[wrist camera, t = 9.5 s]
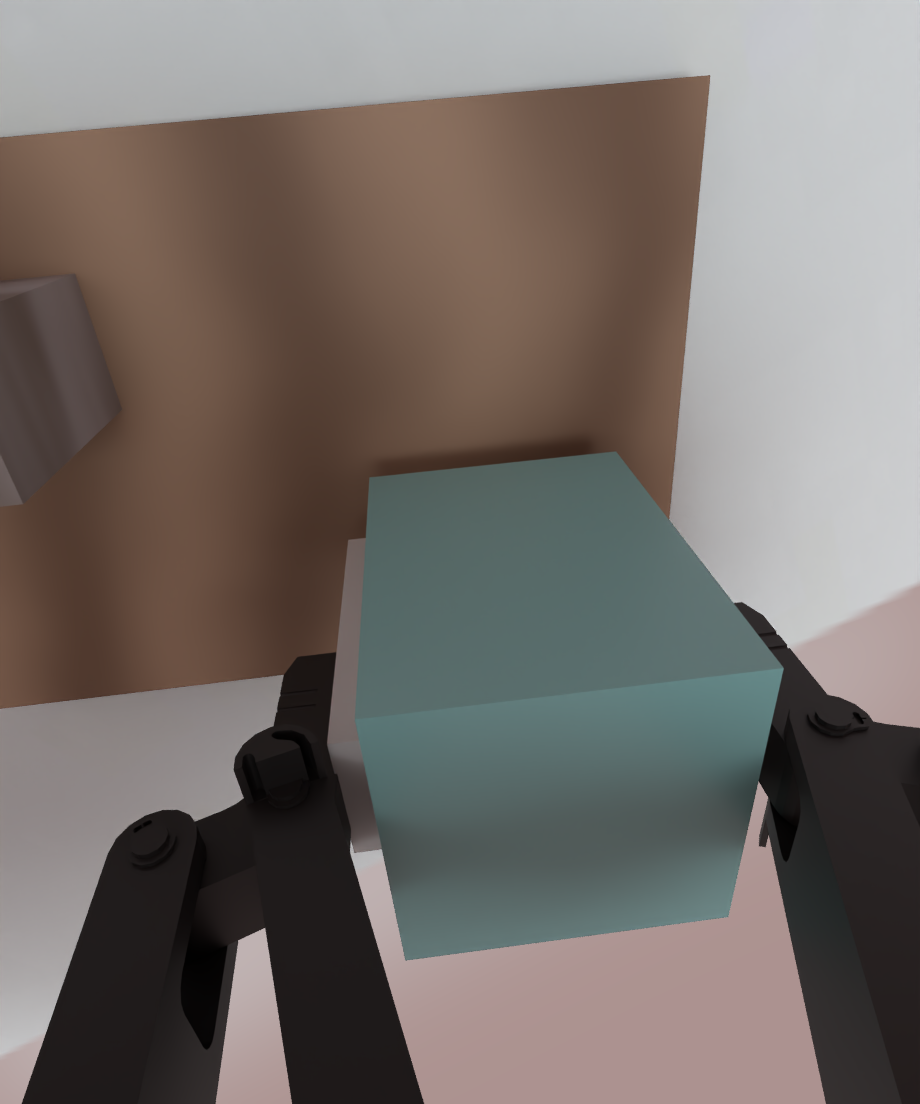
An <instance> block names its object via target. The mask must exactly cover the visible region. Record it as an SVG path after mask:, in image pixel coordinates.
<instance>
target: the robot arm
mask: <svg viewBox="0 0 920 1104" xmlns="http://www.w3.org/2000/svg"><path fill="white" fill-rule="evenodd" d="M365 542H366V538H360V539H351V540H348V547H347V557H346V566H345V576H344V585H343V595H342V605H341V614H340V624H339V634H338V643H337V652H333V653H325V654H316V655H308V656H299V657H297V658H296V659H295V661H294V662H293V663H292V665H291V666H290V667H289V669H288V670H287V671H286V673H285V674H284V677H283V682H282V687H281V692H280V695H281V697H279V702H278V707H277V713H276V717H275V722H274V727H270V728H268V729H266V730H264V731H262V732H260V733H257V734H255V735H254V736H253V737H252V738H251V739H249V740H248V741H247V742H246V743H245V744H244V745H243V746H242V747H241V749H240V751H239V752H238V754H237V755H236V757H235V764H234V772H235V775H236V778H237V780H238V783H239V786H240V789H241V791H242V794H243V797H244V799H242V800H241V801H240V802H238V803H237V804H235V805H233V806H231V807H229V808H227V809H225V810H223V811H221V812H218V813H216V814H213V815H211V816H208V817H206V818H203V819H201V820H198V821H196V822H194V820H193V819H192V817H191V816H190V815H188V814H186V813H184V812H182V811H179V810H162V811H158V812H155V813H152V814H149V815H146V816H144V817H142V818H141V819H139V820H138V821H136V822H134V823H133V824H131V825H129V826H128V827H127V828H126V829H125V830H124V831H123V832H122V833H121V834H120V835H119V836H118V837H117V838H116V840H115V842H114V844H113V846H112V847H111V849H110V851H109V853H108V855H107V858H106V861H105V864H104V867H103V870H102V873H101V876H100V878H99V881H98V884H97V887H96V890H95V893H94V896H93V899H92V902H91V904H90V907H89V910H88V913H87V916H86V919H85V922H84V925H83V928H82V931H81V933H80V936H79V939H78V942H77V945H76V948H75V951H74V954H73V957H72V960H71V962H70V965H69V968H68V971H67V974H66V977H65V980H64V983H63V986H62V988H61V991H60V994H59V997H58V1000H57V1003H56V1006H55V1009H54V1012H53V1015H52V1017H51V1020H50V1023H49V1026H48V1029H47V1032H46V1035H45V1038H44V1041H43V1044H42V1047H41V1049H40V1052H39V1055H38V1058H37V1061H36V1064H35V1067H34V1070H33V1073H32V1075H31V1078H30V1081H29V1084H28V1087H27V1090H26V1093H25V1096H24V1099H23V1102H22V1104H215V1103H216V1095H217V1089H218V1081H219V1074H220V1067H221V1060H222V1052H223V1045H224V1039H225V1031H226V1023H227V1017H228V1010H229V1003H230V995H231V988H232V981H233V974H234V967H235V960H236V953H237V946H238V940H240V939H242V938H244V937H246V936H248V935H250V934H253V933H255V932H257V931H259V930H261V929H263V928H265V929H266V935H267V942H268V949H269V954H270V962H271V968H272V975H273V981H274V988H275V993H276V1001H277V1007H278V1013H279V1020H280V1027H281V1033H282V1040H283V1046H284V1053H285V1060H286V1066H287V1073H288V1079H289V1086H290V1092H291V1099H292V1104H424V1102H423V1099H422V1095H421V1092H420V1088H419V1085H418V1082H417V1078H416V1075H415V1072H414V1068H413V1065H412V1061H411V1058H410V1055H409V1051H408V1048H407V1045H406V1041H405V1038H404V1035H403V1031H402V1028H401V1024H400V1021H399V1017H398V1014H397V1011H396V1007H395V1004H394V1000H393V997H392V994H391V990H390V987H389V983H388V980H387V977H386V973H385V970H384V967H383V963H382V960H381V956H380V953H379V950H378V947H377V943H376V939H375V936H374V933H373V929H372V926H371V922H370V919H369V916H368V912H367V909H366V906H365V902H364V899H363V895H362V892H361V889H360V886H359V882H358V878H357V875H356V872H355V868H354V865H353V861H352V858H351V855H350V841H352V845H353V849H354V853H356V852H364V851H372V850H379V849H382V847H381V842H380V837H379V833H378V828H377V823H376V818H375V814H374V809H373V804H372V800H371V795H370V790H369V785H368V781H367V776H366V771H365V766H364V762H363V757H362V752H361V747H360V743H359V738H358V733H357V728H356V724H355V706H356V689H357V673H358V656H359V640H360V624H361V607H362V591H363V575H364V558H365ZM734 604H735V606H736V607H737V608H738V610H739V611H740V612H741V613H742V615H743V616H744V617H745V619H746V620H747V621H748V623H749V624H750V625H751V626H752V628H753V629H754V630H755V632H756V633H757V634H758V635H759V637H760V638H761V639H762V641H763V642H764V643H765V645H766V646H767V647H768V648H769V650H770V651H771V652H772V654H773V655H774V656H775V657H776V659H777V660H778V661H779V663H780V664H781V665H782V666H783V668H784V669H783V674H782V678H781V683H780V687H779V692H778V696H777V701H776V705H775V709H774V714H773V718H772V723H771V727H770V732H769V736H768V741H767V745H766V750H765V754H764V759H763V763H762V768H761V772H760V777H759V782H760V784H761V786H762V788H763V789H764V791H765V793H766V794H767V796H768V801H767V806H766V810H765V814H764V819H763V823H762V827H761V831H760V835H759V837H760V838H759V846H762V847H766V843H767V839H768V835H769V838H770V842H771V847H772V852H773V856H774V861H775V866H776V871H777V875H778V880H779V885H780V889H781V894H782V899H783V904H784V908H785V913H786V918H787V922H788V927H789V932H790V936H791V941H792V945H793V950H794V955H795V960H796V964H797V969H798V974H799V979H800V983H801V988H802V993H803V997H804V1002H805V1006H806V1012H807V1016H808V1021H809V1026H810V1030H811V1035H812V1040H813V1044H814V1049H815V1054H816V1059H817V1063H818V1068H819V1073H820V1077H821V1082H822V1087H823V1091H824V1096H825V1101H826V1104H920V728H913V727H906V726H897V725H889V724H882V723H877V722H873V721H872V719H871V718H870V716H869V715H868V714H867V713H866V712H865V711H863V710H862V709H861V708H859V707H858V706H857V705H855V704H853V703H851V702H849V701H846V700H844V699H842V698H839V697H835V696H830V695H827V694H826V692H825V691H824V690H823V689H822V687H821V686H820V685H819V684H818V682H817V681H816V680H815V679H814V677H812V675H811V674H810V673H809V671H808V670H807V669H806V668H805V667H804V665H803V664H802V663H801V661H800V660H799V659H798V658H797V657H796V655H795V654H794V653H793V652H792V650H791V649H790V648H787V644H786V643H785V642H784V641H783V639H782V638H781V637H780V636H779V635H777V634H776V631H775V629H774V628H773V627H772V626H771V625H770V623H769V622H768V621H767V620H766V618H765V617H764V616H763V615H762V614H760V613H758V612H757V611H755V610H754V609H752V608H750V607H749V606H747V605H746V604H744V603H742V602H740V603H734Z"/></svg>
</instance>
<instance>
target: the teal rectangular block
mask: <svg viewBox="0 0 920 1104" xmlns="http://www.w3.org/2000/svg"><path fill="white" fill-rule="evenodd" d="M783 669H784V668H783V666H782V665H781V664H780V663H779V661H778V660H777V659H776V657H775V656H774V655H773V654H772V652H771V651H770V650H769V648H768V647H767V646H766V645H765V643H764V642H763V641H762V639H761V638H760V637H759V635H758V634H757V633H756V632H755V630H754V629H753V628H752V626H751V625H750V624H749V623H748V621H747V620H746V619H745V617H744V616H743V615H742V613H741V612H740V611H739V610H738V608H737V607H736V606H735V604H734V603H733V602H732V601H731V599H730V598H729V597H728V595H727V594H726V593H725V592H724V590H723V589H722V588H721V586H720V585H719V584H718V582H717V581H716V580H715V579H714V577H713V576H712V575H711V573H710V572H709V571H708V570H707V568H706V567H705V566H704V564H703V563H702V562H701V561H700V559H699V558H698V557H697V555H696V554H695V553H694V551H693V550H692V549H691V548H690V546H689V545H688V544H687V542H686V541H685V540H684V539H683V537H682V536H681V535H680V533H679V532H678V531H677V530H676V528H675V527H674V526H673V524H672V523H671V522H670V520H669V519H668V518H667V517H666V515H665V514H664V513H663V511H662V510H661V509H660V508H659V506H658V505H657V504H656V502H655V501H654V500H653V498H652V497H651V496H650V495H649V493H648V492H647V491H646V489H645V488H644V487H643V486H642V484H641V483H640V482H639V480H638V479H637V478H636V477H635V475H634V474H633V473H632V471H631V470H630V469H629V467H628V466H627V465H626V464H625V462H624V461H623V460H622V458H621V457H620V456H619V455H618V453H617V452H606V453H597V454H587V455H578V456H568V457H559V458H549V459H540V460H530V461H521V462H511V463H502V464H492V465H483V466H473V467H464V468H454V469H445V470H435V471H426V472H417V473H407V474H398V475H388V476H379V477H369V493H368V509H367V525H366V542H365V558H364V575H363V591H362V607H361V624H360V640H359V656H358V673H357V689H356V706H355V724H356V728H357V733H358V738H359V743H360V747H361V752H362V757H363V762H364V766H365V771H366V776H367V781H368V785H369V790H370V795H371V800H372V804H373V809H374V814H375V818H376V823H377V828H378V833H379V837H380V842H381V847H382V852H383V856H384V861H385V866H386V870H387V875H388V880H389V885H390V890H391V894H392V899H393V904H394V908H395V913H396V918H397V923H398V927H399V932H400V937H401V941H402V946H403V951H404V956H405V960H413V959H420V958H427V957H435V956H443V955H450V954H457V953H465V952H472V951H480V950H487V949H494V948H501V947H509V946H516V945H524V944H531V943H539V942H546V941H554V940H561V939H568V938H576V937H583V936H591V935H598V934H605V933H612V932H620V931H628V930H635V929H642V928H649V927H657V926H665V925H672V924H680V923H686V922H695V921H702V920H708V919H716V918H724V917H728V915H729V910H730V906H731V902H732V897H733V892H734V888H735V884H736V879H737V875H738V870H739V866H740V861H741V857H742V852H743V848H744V843H745V839H746V835H747V830H748V826H749V821H750V816H751V812H752V808H753V803H754V799H755V794H756V790H757V785H758V781H759V777H760V772H761V768H762V763H763V759H764V754H765V750H766V745H767V741H768V736H769V732H770V727H771V723H772V718H773V714H774V709H775V705H776V701H777V696H778V692H779V687H780V683H781V678H782V674H783Z"/></svg>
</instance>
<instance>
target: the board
mask: <svg viewBox="0 0 920 1104" xmlns="http://www.w3.org/2000/svg"><path fill="white" fill-rule="evenodd" d="M709 84H710V75H708V76H697V77H685V78H674V79H663V80H651V81H640V82H628V83H617V84H606V85H594V86H583V87H572V88H560V89H549V90H537V91H526V92H515V93H503V94H492V95H480V96H469V97H458V98H446V99H435V100H423V101H412V102H401V103H389V104H378V105H367V106H355V107H344V108H332V109H321V110H310V111H298V112H287V113H275V114H264V115H253V116H241V117H230V118H219V119H207V120H196V121H184V122H173V123H162V124H150V125H139V126H127V127H116V128H105V129H93V130H82V131H71V132H59V133H48V134H36V135H25V136H14V137H2V138H0V709H2V708H10V707H19V706H27V705H35V704H44V703H52V702H60V701H69V700H77V699H85V698H94V697H102V696H110V695H119V694H127V693H135V692H144V691H152V690H160V689H168V688H177V687H185V686H193V685H202V684H210V683H218V682H227V681H235V680H243V679H252V678H260V677H268V676H277V675H284V674H285V673H286V671H287V670H288V669H289V667H290V666H291V665H292V663H293V662H294V661H295V659H296V658H297V657H299V656H308V655H316V654H325V653H333V652H337V643H338V634H339V624H340V614H341V605H342V595H343V585H344V576H345V566H346V557H347V547H348V540H351V539H360V538H366V525H367V509H368V493H369V477H379V476H388V475H398V474H407V473H417V472H426V471H435V470H445V469H454V468H464V467H473V466H483V465H492V464H502V463H511V462H521V461H530V460H540V459H549V458H559V457H568V456H578V455H587V454H597V453H606V452H617V453H618V455H619V456H620V457H621V458H622V460H623V461H624V462H625V464H626V465H627V466H628V467H629V469H630V470H631V471H632V473H633V474H634V475H635V477H636V478H637V479H638V480H639V482H640V483H641V484H642V486H643V487H644V488H645V489H646V491H647V492H648V493H649V495H650V496H651V497H652V498H653V500H654V501H655V502H656V504H657V505H658V506H659V508H660V509H661V510H662V511H663V513H664V514H665V515H666V517H667V518H668V519H669V514H670V504H671V493H672V482H673V471H674V461H675V450H676V439H677V428H678V418H679V407H680V396H681V385H682V375H683V364H684V353H685V342H686V332H687V321H688V310H689V299H690V289H691V278H692V267H693V256H694V246H695V235H696V224H697V213H698V203H699V192H700V181H701V170H702V159H703V149H704V138H705V127H706V116H707V106H708V95H709Z"/></svg>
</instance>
